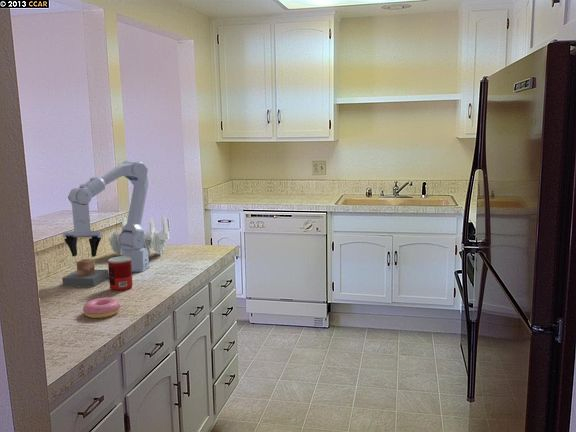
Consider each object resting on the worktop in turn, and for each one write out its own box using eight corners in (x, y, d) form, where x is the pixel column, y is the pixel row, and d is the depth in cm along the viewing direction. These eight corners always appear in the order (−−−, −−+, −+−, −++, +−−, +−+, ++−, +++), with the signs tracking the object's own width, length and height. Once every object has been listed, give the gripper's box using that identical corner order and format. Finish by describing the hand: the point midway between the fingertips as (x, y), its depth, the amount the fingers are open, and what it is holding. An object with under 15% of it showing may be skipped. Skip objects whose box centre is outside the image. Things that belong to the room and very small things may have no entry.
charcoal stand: (108, 277, 200) (108, 269, 200) (93, 286, 189) (93, 278, 188) (79, 276, 202) (78, 269, 201) (62, 285, 190) (62, 278, 189)
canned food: (137, 286, 189) (135, 256, 187) (123, 292, 181) (121, 262, 180) (119, 284, 191) (117, 255, 189) (105, 290, 184) (103, 260, 182)
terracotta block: (94, 272, 197) (93, 259, 196) (88, 275, 192) (87, 262, 192) (83, 271, 197) (82, 259, 197) (77, 275, 193) (76, 262, 192)
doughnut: (127, 313, 162) (126, 300, 161) (93, 323, 154) (92, 309, 153) (109, 305, 169) (109, 293, 168) (77, 314, 161) (76, 301, 160)
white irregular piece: (119, 261, 240) (172, 258, 241) (106, 254, 223) (164, 250, 224) (120, 223, 245) (172, 220, 246) (107, 213, 228) (164, 209, 229)
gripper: (57, 222, 188) (60, 258, 190) (95, 222, 186) (97, 259, 189) (67, 218, 195) (70, 253, 197) (104, 219, 193) (106, 254, 196)
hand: (84, 256), depth 193 cm, fingers open, 7 cm apart
